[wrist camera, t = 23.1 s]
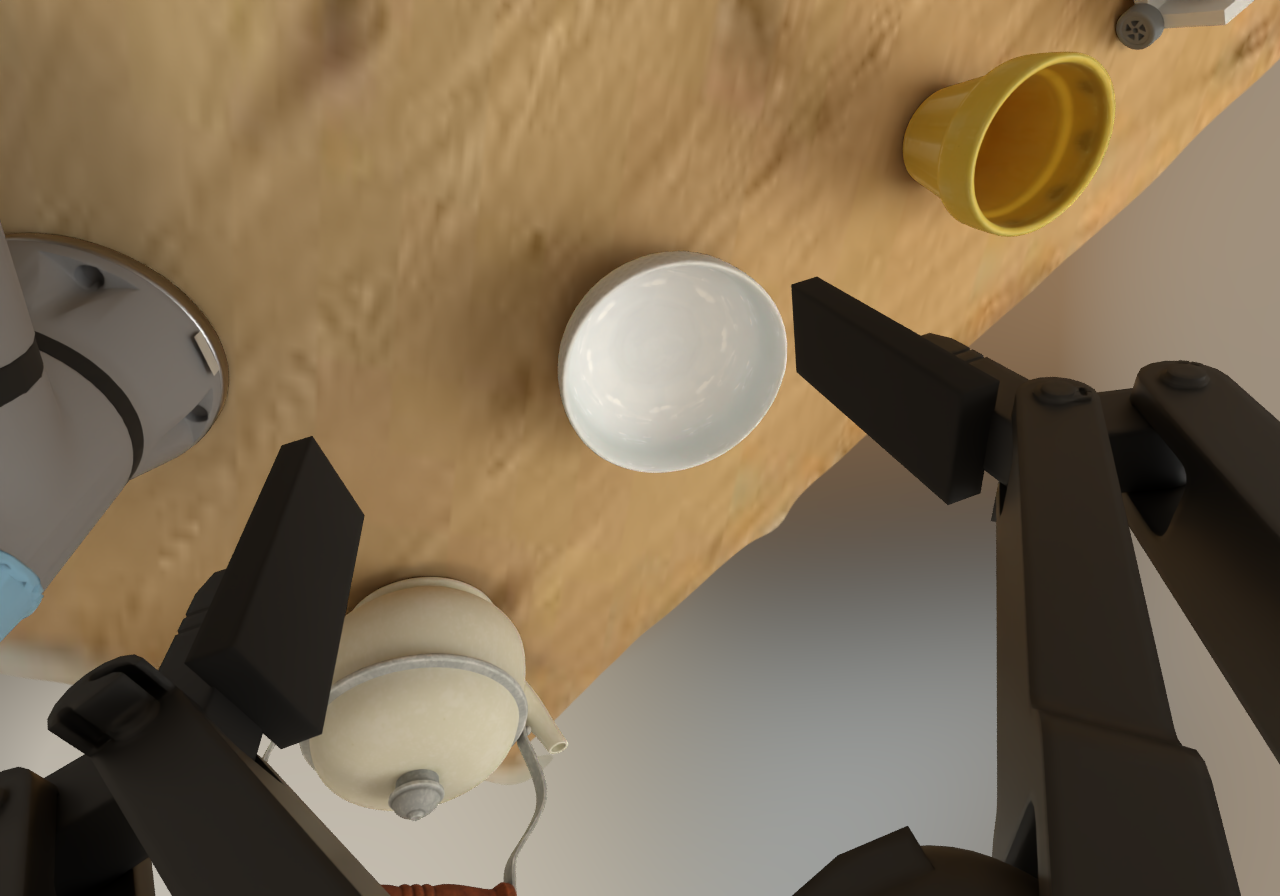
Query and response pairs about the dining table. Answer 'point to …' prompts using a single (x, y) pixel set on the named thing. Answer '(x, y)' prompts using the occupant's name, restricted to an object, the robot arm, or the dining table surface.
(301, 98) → the dining table surface
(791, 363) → the dining table surface
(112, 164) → the dining table surface
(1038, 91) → the flower pot
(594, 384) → the cereal bowl
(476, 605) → the kettle
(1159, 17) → the toy car
